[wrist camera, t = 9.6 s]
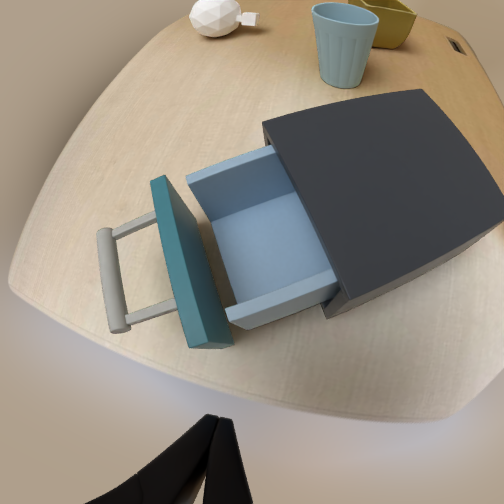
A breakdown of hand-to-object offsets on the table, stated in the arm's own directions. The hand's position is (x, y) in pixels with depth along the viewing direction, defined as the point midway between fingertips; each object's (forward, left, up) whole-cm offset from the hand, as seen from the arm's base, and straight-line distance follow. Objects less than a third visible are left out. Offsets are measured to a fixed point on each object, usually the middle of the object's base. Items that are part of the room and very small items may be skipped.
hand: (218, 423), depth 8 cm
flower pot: (+38, -35, -14) cm, 53 cm away
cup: (+29, -22, -14) cm, 39 cm away
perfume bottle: (+50, -12, -14) cm, 53 cm away
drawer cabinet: (+9, -14, -14) cm, 21 cm away
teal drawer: (+9, -2, -13) cm, 16 cm away
